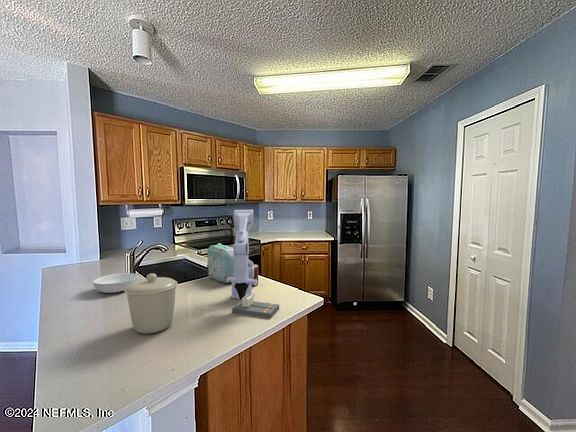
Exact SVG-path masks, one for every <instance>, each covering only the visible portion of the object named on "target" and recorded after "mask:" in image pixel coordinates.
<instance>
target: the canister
mask: <svg viewBox="0 0 576 432" xmlns="http://www.w3.org/2000/svg"><path fill="white" fill-rule="evenodd" d="M178 285H179V284H178V281H177V280H175V279H173V278H170V277H165V276H164V277H163V276H159V277H158V276H157V274H156V273H149V274H147V275H146V278H144V279H138V281H136V282H134V283H132V284H130V285H129V286H128V287H126V288H125V290H124V291H123V292H124V293H125V294H126V297H127V303H128V308H129V314H130V319H131V323H132V326H133V329H134V331H135V332H137V333H138V334H144V335H146V334H147V335H148V334H156V333H159V332H162V331H164V330H166V329H167V328H169V327H170V325H171V324H172V322H173V320H174V314H175V313H174V312H175V304H176V303H175V301H176V300H175V299H176V288H177V286H178Z"/></svg>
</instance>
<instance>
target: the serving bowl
mask: <svg viewBox="0 0 576 432" xmlns="http://www.w3.org/2000/svg"><path fill="white" fill-rule="evenodd" d="M139 277H140V276H139V275H138V274H137V273H134V272H133V273H131V272H130V273H129V272H128V273H127V272H126V273H124V272H123V273H113V274H107V275H104V276H100V277H98V278H95V279H93V280H92V284H93V287H94V288H95V290H97V291H99V292H101V293H108V294H115V293H116V292H117V293H121V291H122V292H125V291H124V290H125V288H126V287H128V286H129V285H130V284H132V283H134V282H136V281H139Z"/></svg>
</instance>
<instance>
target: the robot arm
mask: <svg viewBox="0 0 576 432" xmlns="http://www.w3.org/2000/svg"><path fill="white" fill-rule="evenodd" d="M233 222H234V225H235V228H237V229H238V230H237V231H236V232H235V238H234V240H235V241H234V243H233V246H232V248H233V253H234V260H235V264H234V277H228V278H226V282H227V283H231V296H230V298H231V299H238V300H239V301H242V298H243V297H245V296H246V295H249V294H251V295H253V297H254V296H255V293H254V292H253V291H252V289H253V287H252V285H257V284H258V285H259V282H258V283H257V280H255V279H252V278H253V277H254V262H253V261H252V260H250V259H249V251H250V250H249V249H250V247H249V231H250V228H252V227H253V225H254V210H253V209H234V210H233ZM251 284H252V285H251ZM258 285H257V286H258Z"/></svg>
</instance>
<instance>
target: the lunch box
mask: <svg viewBox="0 0 576 432" xmlns="http://www.w3.org/2000/svg"><path fill="white" fill-rule="evenodd" d="M234 264H235V260H234V253H233V246H232V247H231V246H228V245H223V244H222V243H221V242H220V243H217V244H214V245H210V246H208V248H207V264H206V270H207V275H208V276H209V278H211V279H213V280H215V281H218V282H221V283H224V284H227V283H228V282H226V278H228V277H234Z"/></svg>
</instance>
